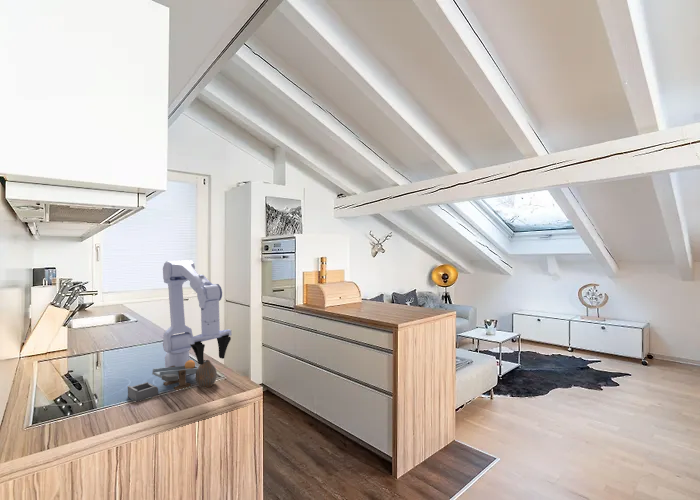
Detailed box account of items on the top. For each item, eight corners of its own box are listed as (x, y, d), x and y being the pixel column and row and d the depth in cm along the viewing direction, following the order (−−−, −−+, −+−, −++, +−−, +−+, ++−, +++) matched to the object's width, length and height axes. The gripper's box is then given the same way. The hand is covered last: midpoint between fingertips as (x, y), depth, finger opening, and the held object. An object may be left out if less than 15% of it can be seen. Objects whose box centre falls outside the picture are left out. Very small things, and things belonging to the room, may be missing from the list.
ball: (182, 369, 129) (183, 359, 130) (191, 368, 132) (192, 358, 132) (187, 371, 127) (188, 361, 127) (196, 370, 130) (197, 360, 130)
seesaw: (148, 374, 121) (149, 368, 122) (191, 369, 133) (192, 364, 133) (166, 382, 113) (167, 376, 113) (211, 377, 124) (211, 371, 125)
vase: (212, 389, 121) (211, 363, 121) (192, 389, 122) (191, 363, 122) (220, 381, 128) (219, 357, 128) (201, 382, 128) (200, 357, 129)
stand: (163, 384, 127) (163, 367, 127) (177, 380, 131) (177, 363, 131) (176, 390, 121) (176, 373, 121) (191, 386, 125) (190, 369, 125)
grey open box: (128, 396, 117) (127, 386, 117) (149, 390, 122) (149, 380, 122) (136, 401, 113) (135, 390, 113) (158, 394, 118) (158, 384, 118)
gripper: (195, 325, 112) (196, 369, 112) (236, 318, 123) (237, 357, 123) (184, 323, 116) (185, 365, 116) (224, 316, 128) (225, 354, 128)
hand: (211, 360), depth 120 cm, fingers open, 7 cm apart
